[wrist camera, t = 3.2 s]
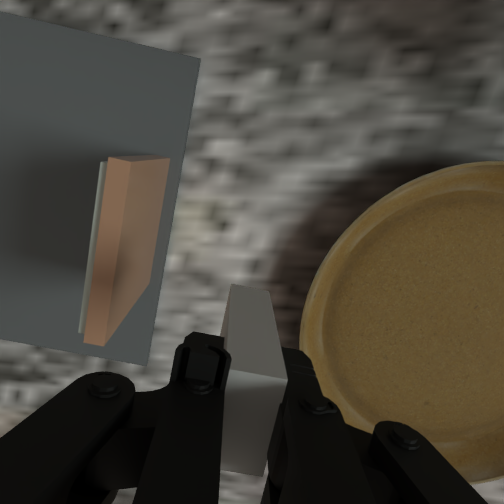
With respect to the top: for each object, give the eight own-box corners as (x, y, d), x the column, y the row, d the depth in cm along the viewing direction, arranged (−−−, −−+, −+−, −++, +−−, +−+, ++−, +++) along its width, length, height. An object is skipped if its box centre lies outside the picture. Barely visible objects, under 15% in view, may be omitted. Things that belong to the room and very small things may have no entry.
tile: (149, 153, 28) (99, 154, 18) (170, 158, 28) (131, 161, 19) (129, 279, 30) (74, 340, 20) (149, 283, 30) (104, 346, 21)
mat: (-21, 7, 26) (-25, 5, 26) (200, 59, 27) (199, 58, 27) (-41, 328, 31) (-44, 330, 31) (147, 363, 32) (146, 366, 32)
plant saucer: (676, 243, 31) (726, 254, 28) (500, 495, 36) (526, 529, 33) (388, 99, 28) (407, 93, 25) (242, 393, 33) (242, 419, 30)
